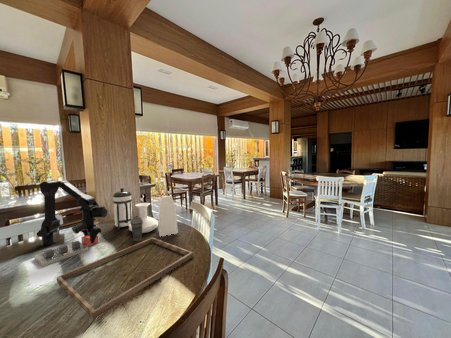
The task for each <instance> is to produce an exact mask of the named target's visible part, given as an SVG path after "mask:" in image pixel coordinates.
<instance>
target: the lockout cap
mask: <svg viewBox="0 0 451 338" xmlns="http://www.w3.org/2000/svg"><path fill="white" fill-rule="evenodd" d="M80 238H81V243H82V244H84V245H86V246H87V247H88V248H89V247H90V246H92V245H96V244H99V235H97V237H96V239H95V241H94V243H91V240H90V236H89V235H86V236H81V237H80Z"/></svg>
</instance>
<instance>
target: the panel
mask: <svg viewBox="0 0 451 338" xmlns="http://www.w3.org/2000/svg"><path fill="white" fill-rule="evenodd" d="M66 245H67V246H68V252H65V253H62V254H61V253H60V252H59V247H58V248H54V249H52V250H53V252H54V256H52V257H49V258H45V257H44V252H42V253H39V254H36V255H34V260H35V261H36V263H38V264H39V266H41V267H42V268H43V267H47V266H48V265H52V264H54V263H56V262H59V261H62V260H65V259H68V258H70V257H73V256H76V255H79V254H81V253H84V252H87V251H89V246H88V247H87V246H86V245H84V244H82V242H80V247H79V248H76V249H73V248H72V243H70V244H66Z"/></svg>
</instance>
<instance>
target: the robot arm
mask: <svg viewBox="0 0 451 338" xmlns="http://www.w3.org/2000/svg"><path fill="white" fill-rule="evenodd" d="M39 189H40V193H41V194H42V195H43V200H44V203H43V205H44V219H43V221H42V223H41V227H40V229H39V231H37V232H36V236H37V237H38V238H39V237H40V238H41V243H40V244H39V245H40V246H42V247H47V246H50V245H54V244H57V241H56V240H55V233H57V232H58V230H59V229H60V226H61V220H60V219H58V218H57V217H56V194H57V192H58V191H59V189H61V190H63V191H64V192H66V193H67V194H68V195H70V196H71V197H72V198H73V199H75V201H76V203H77V204H78V206H79V207H80V209H78V211H79V212H82V219H81V220H80V223H78V224H76V225H74V226H72V227H71V228H70V229H71V231H72V232H73V233H74V234H79V233H82V234H83V235H84V236H86V235H89V236H90V240H91V243H94V241H95V239H96V237H97V235H98V234H99V233H102V228H101V227H98V226H96V225H97V224H95V221H96V220H97V219H99V218H100V219H101V218H103V219H104V218H107V215H108V210H107V208H105V205H101V206H100V205H99V204H98V202H97V201H96V199H95V197H93V196H91V195H90V194H86V193H83V192H82V191H80V190H79V189H78V188H77V187H76V186H74V185H73V184H71V183H70V182H69V181H68V180H66V179H65V180H60V181H59V180H58V181H57V180H54V179H53V180H46V181H42V182H41V183H40V184H39ZM98 236H99V235H98Z"/></svg>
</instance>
